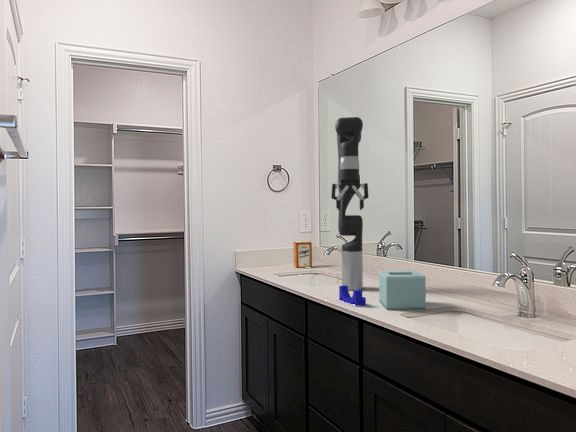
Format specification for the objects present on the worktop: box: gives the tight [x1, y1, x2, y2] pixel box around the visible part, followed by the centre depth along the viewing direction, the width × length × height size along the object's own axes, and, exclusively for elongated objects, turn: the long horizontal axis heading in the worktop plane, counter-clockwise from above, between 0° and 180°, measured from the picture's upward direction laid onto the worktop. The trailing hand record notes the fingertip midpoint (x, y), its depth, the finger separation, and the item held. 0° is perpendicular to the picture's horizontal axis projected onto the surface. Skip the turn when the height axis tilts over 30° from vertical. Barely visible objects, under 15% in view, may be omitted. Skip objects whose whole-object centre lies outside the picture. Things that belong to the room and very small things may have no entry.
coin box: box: [378, 270, 427, 311], centre depth 169 cm, size 14×14×12 cm
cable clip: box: [338, 285, 367, 306], centre depth 175 cm, size 12×4×6 cm, turn 24°
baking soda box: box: [293, 240, 313, 269], centre depth 274 cm, size 10×6×16 cm
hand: (349, 209), depth 177 cm, fingers open, 8 cm apart
